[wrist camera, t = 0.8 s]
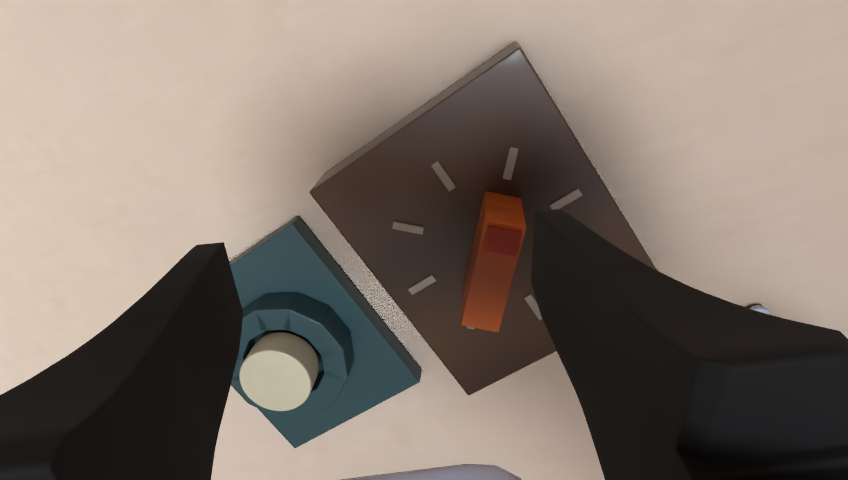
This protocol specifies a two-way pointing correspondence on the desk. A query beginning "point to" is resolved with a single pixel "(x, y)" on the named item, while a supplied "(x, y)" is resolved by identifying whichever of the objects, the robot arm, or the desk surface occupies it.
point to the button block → (317, 331)
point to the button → (279, 371)
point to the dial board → (468, 208)
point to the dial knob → (492, 261)
